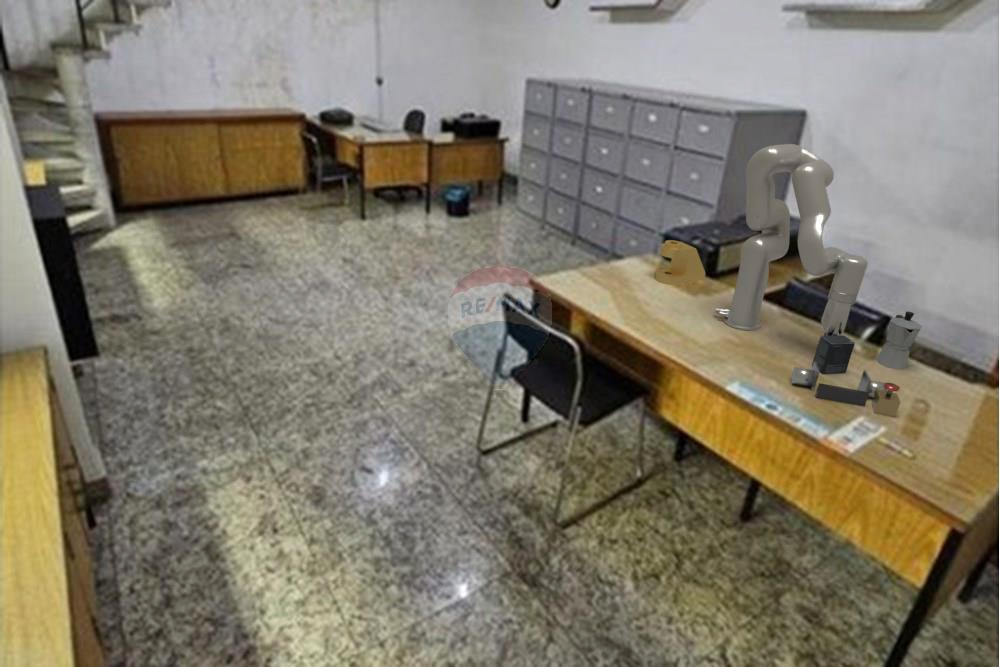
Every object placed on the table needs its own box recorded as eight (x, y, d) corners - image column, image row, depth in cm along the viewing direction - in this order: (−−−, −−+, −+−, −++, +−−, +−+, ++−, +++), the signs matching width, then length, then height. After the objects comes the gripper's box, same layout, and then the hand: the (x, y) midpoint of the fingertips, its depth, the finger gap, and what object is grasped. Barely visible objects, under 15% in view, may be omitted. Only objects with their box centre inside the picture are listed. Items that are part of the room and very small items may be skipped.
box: (833, 365, 196) (843, 334, 191) (845, 374, 191) (856, 343, 186) (810, 366, 194) (820, 335, 190) (822, 375, 189) (832, 343, 185)
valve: (873, 413, 171) (883, 388, 167) (870, 404, 175) (880, 379, 172) (894, 418, 169) (904, 392, 166) (891, 409, 174) (900, 383, 170)
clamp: (664, 286, 250) (672, 247, 243) (650, 278, 258) (657, 240, 251) (703, 281, 258) (712, 243, 252) (688, 273, 266) (696, 236, 259)
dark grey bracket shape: (794, 393, 178) (800, 373, 175) (789, 377, 187) (795, 358, 184) (887, 411, 172) (894, 390, 170) (878, 393, 181) (885, 373, 178)
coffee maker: (911, 377, 192) (932, 323, 184) (879, 371, 194) (899, 317, 186) (899, 356, 205) (918, 304, 197) (869, 351, 207) (887, 300, 199)
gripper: (825, 285, 199) (809, 338, 207) (833, 302, 186) (816, 357, 194) (851, 289, 197) (834, 342, 205) (861, 306, 184) (843, 362, 192)
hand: (825, 349), depth 199 cm, fingers closed
